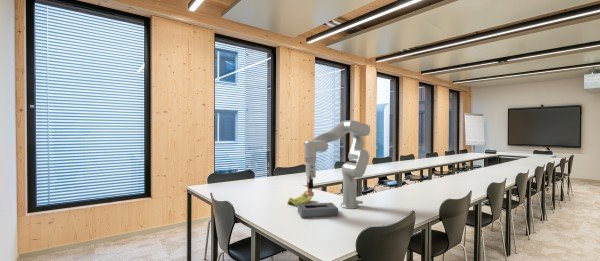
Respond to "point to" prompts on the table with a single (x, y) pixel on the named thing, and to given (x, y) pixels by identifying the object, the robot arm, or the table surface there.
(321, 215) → the keyhole plate
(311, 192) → the peg
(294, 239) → the table surface
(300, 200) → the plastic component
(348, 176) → the robot arm
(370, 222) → the table surface
